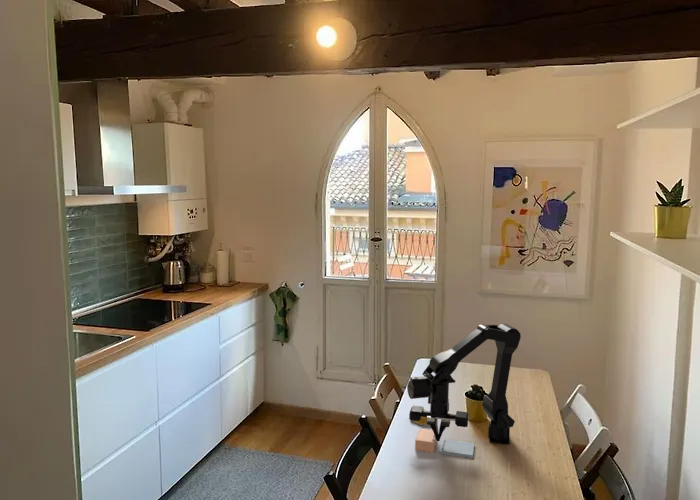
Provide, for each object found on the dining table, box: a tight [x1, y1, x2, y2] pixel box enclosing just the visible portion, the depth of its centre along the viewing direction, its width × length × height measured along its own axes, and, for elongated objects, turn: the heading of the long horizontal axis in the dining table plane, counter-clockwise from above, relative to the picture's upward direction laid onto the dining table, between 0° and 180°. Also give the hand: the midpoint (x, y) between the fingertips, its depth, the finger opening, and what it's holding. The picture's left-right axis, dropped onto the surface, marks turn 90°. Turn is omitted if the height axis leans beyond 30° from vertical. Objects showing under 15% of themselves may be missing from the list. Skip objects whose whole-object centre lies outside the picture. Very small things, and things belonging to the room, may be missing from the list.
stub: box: [414, 428, 438, 454], centre depth 179 cm, size 6×8×4 cm
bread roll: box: [411, 409, 428, 426], centre depth 198 cm, size 8×9×4 cm
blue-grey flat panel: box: [440, 438, 475, 459], centre depth 177 cm, size 10×8×1 cm
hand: (438, 440), depth 178 cm, fingers closed
